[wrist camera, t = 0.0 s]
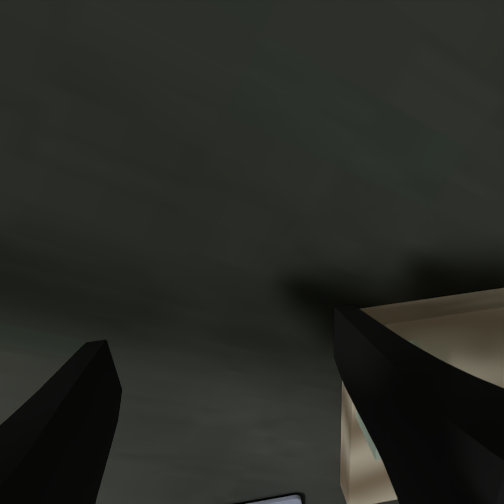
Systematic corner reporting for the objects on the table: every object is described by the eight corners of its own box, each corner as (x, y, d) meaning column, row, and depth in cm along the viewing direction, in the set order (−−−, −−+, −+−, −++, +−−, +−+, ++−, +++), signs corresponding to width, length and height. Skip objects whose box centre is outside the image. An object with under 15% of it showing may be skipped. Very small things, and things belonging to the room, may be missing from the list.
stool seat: (511, 453, 33) (529, 474, 31) (340, 483, 32) (348, 508, 30) (564, 279, 25) (592, 294, 24) (343, 311, 24) (355, 329, 22)
